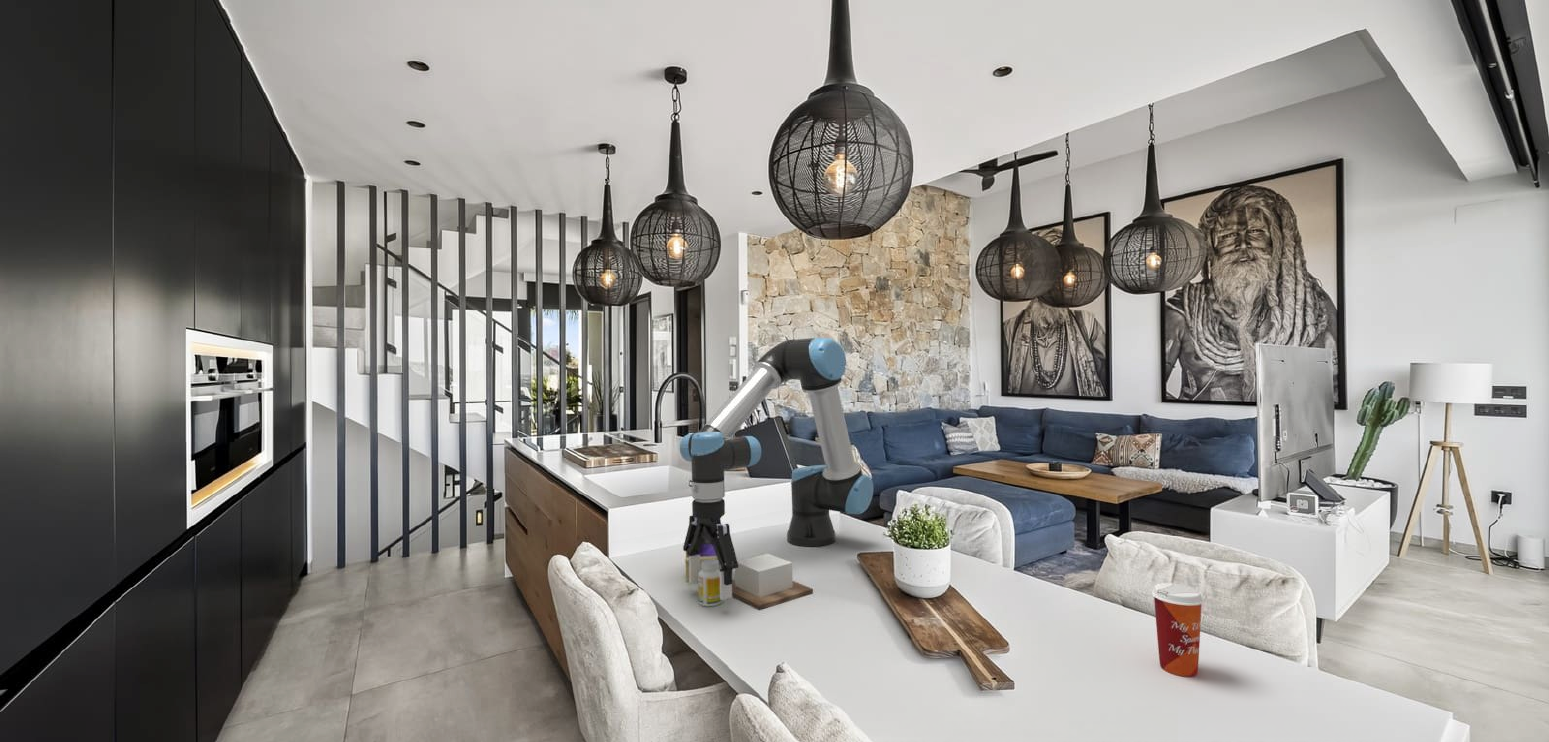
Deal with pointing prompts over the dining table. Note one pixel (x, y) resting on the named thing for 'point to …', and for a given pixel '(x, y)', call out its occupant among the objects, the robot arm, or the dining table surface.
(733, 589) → the walnut board
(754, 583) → the white plinth
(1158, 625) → the paper cup
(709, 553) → the toy sofa
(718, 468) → the robot arm
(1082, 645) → the dining table surface
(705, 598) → the supplement bottle
